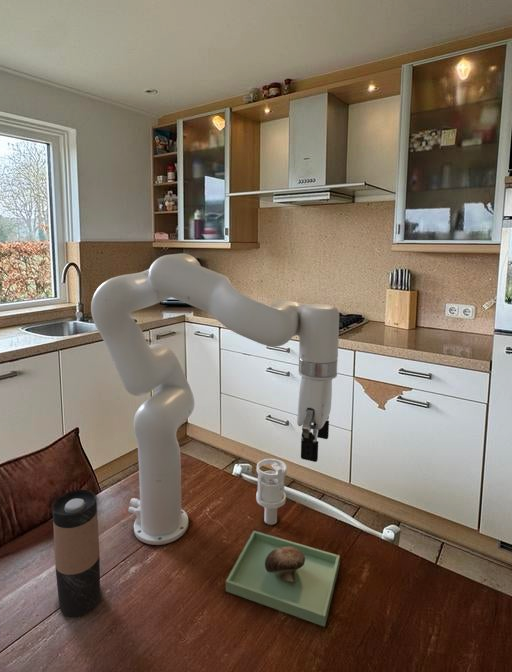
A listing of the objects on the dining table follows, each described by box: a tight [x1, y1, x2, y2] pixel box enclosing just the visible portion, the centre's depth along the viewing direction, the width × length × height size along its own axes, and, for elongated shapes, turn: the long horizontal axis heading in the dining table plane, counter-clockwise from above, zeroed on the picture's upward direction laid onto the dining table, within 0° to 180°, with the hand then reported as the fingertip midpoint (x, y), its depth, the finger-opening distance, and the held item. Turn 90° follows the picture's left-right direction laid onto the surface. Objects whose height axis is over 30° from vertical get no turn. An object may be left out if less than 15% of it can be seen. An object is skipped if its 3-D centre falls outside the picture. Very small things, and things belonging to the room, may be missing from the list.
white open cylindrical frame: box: [255, 458, 288, 526], centre depth 100 cm, size 7×7×15 cm
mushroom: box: [265, 546, 305, 583], centre depth 84 cm, size 8×8×6 cm
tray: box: [225, 530, 341, 628], centre depth 84 cm, size 19×15×2 cm
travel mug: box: [52, 489, 101, 618], centre depth 78 cm, size 8×8×20 cm
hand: (315, 448), depth 86 cm, fingers open, 9 cm apart
